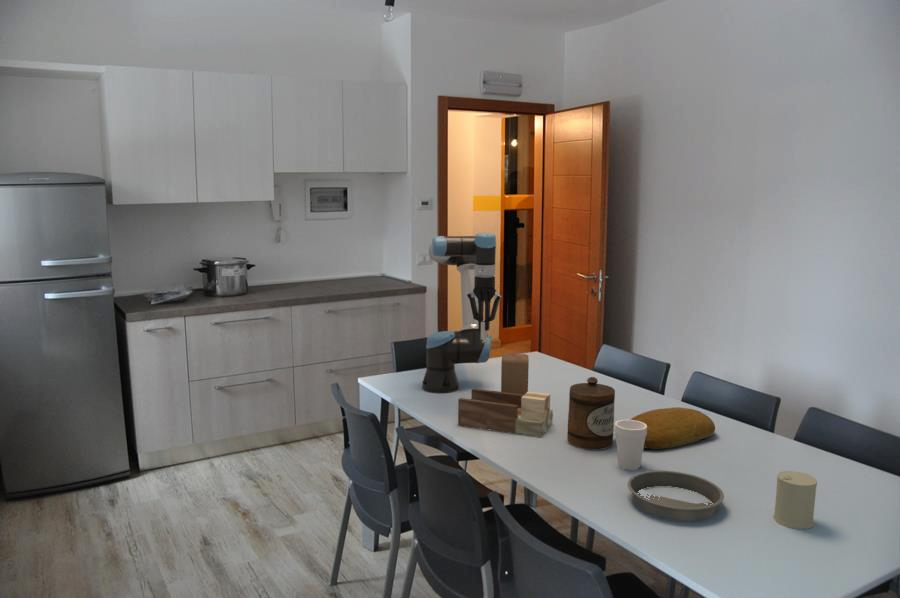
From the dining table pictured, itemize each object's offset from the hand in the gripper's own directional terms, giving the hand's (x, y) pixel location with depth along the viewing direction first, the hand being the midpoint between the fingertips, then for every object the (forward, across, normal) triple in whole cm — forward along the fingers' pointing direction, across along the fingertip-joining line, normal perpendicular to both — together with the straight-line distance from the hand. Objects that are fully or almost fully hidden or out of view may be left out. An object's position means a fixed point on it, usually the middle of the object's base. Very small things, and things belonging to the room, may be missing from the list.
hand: (483, 338), depth 265 cm
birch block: (+22, +24, -14) cm, 35 cm away
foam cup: (+26, +59, -35) cm, 73 cm away
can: (+25, +103, -55) cm, 119 cm away
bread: (+27, +67, -5) cm, 73 cm away
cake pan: (+26, +74, -56) cm, 96 cm away
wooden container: (+27, +44, -19) cm, 55 cm away
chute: (+27, +13, -13) cm, 33 cm away
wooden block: (+28, +10, +7) cm, 30 cm away
